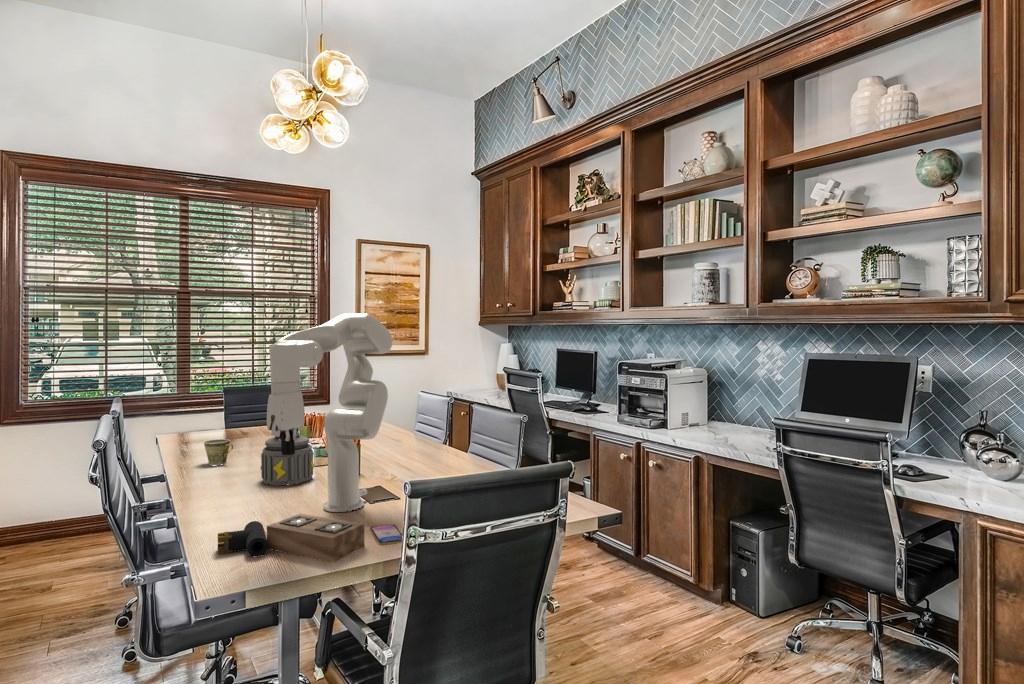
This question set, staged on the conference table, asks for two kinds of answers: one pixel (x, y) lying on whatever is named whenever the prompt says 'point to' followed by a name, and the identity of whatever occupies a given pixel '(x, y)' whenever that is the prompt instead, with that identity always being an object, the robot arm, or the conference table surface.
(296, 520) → the peg
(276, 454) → the grey lightning bolt generator
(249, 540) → the pipe connector
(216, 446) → the ceramic cup
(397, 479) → the conference table surface
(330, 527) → the peg
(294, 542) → the plunger block
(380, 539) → the smartphone
